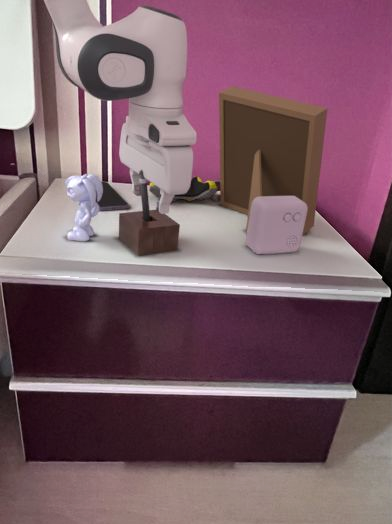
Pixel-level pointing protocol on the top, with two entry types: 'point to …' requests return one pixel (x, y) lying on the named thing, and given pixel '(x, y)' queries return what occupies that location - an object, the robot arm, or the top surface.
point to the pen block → (148, 232)
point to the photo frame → (269, 149)
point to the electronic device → (276, 224)
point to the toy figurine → (84, 203)
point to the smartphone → (110, 199)
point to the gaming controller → (191, 190)
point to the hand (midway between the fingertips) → (150, 203)
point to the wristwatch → (217, 197)
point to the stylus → (144, 197)
